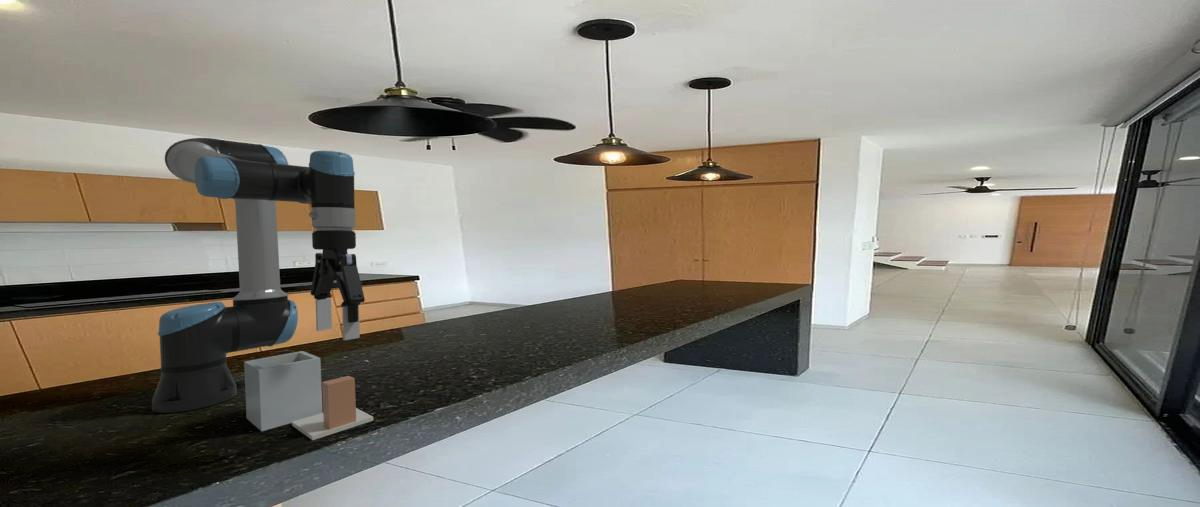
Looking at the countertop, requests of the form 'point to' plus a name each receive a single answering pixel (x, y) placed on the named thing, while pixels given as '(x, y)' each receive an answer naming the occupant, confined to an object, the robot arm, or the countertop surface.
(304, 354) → the tub
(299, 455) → the countertop surface
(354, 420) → the lid
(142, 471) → the countertop surface
